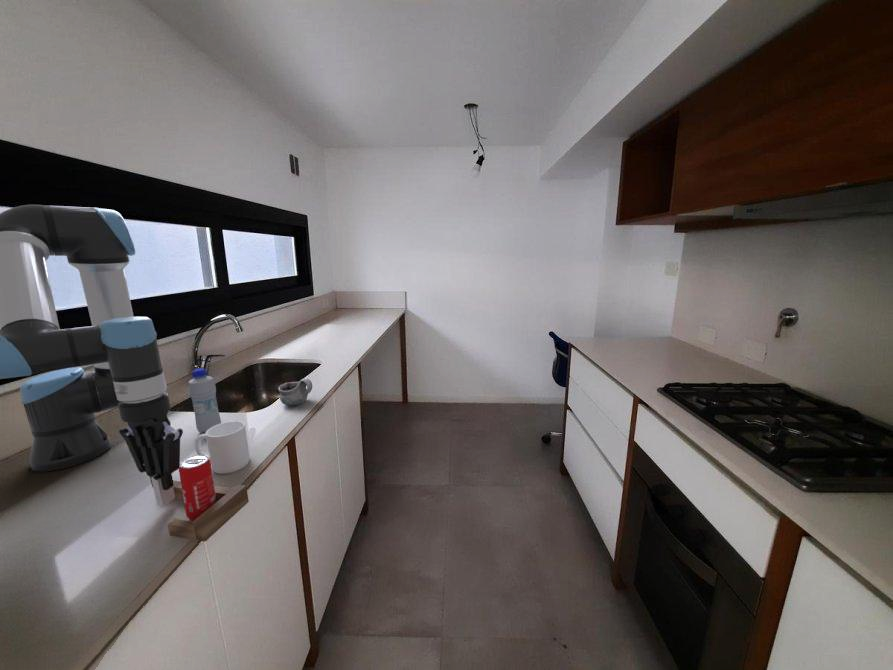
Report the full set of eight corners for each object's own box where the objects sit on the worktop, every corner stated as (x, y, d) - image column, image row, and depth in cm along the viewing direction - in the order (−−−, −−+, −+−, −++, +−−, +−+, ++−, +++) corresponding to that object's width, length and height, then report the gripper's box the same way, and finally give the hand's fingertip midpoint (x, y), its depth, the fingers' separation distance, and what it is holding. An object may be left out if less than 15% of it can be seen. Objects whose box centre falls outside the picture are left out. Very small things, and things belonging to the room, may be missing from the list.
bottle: (191, 434, 106) (179, 371, 102) (213, 424, 112) (202, 364, 108) (206, 438, 104) (194, 373, 99) (228, 428, 110) (217, 366, 105)
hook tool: (117, 527, 70) (113, 509, 69) (170, 491, 80) (166, 475, 79) (205, 541, 66) (201, 523, 65) (248, 501, 76) (246, 485, 75)
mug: (290, 398, 133) (287, 372, 130) (321, 399, 131) (319, 373, 129) (274, 408, 123) (271, 381, 121) (308, 410, 121) (305, 382, 119)
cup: (240, 473, 86) (234, 435, 84) (189, 476, 85) (181, 438, 83) (255, 455, 94) (250, 420, 92) (208, 457, 93) (202, 422, 91)
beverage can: (205, 524, 70) (197, 469, 67) (180, 522, 70) (171, 468, 68) (223, 506, 75) (216, 454, 73) (199, 505, 75) (192, 453, 73)
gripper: (94, 402, 67) (122, 509, 72) (151, 406, 64) (175, 518, 69) (136, 387, 74) (158, 486, 79) (188, 391, 71) (207, 493, 77)
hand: (166, 501), depth 74 cm, fingers closed
